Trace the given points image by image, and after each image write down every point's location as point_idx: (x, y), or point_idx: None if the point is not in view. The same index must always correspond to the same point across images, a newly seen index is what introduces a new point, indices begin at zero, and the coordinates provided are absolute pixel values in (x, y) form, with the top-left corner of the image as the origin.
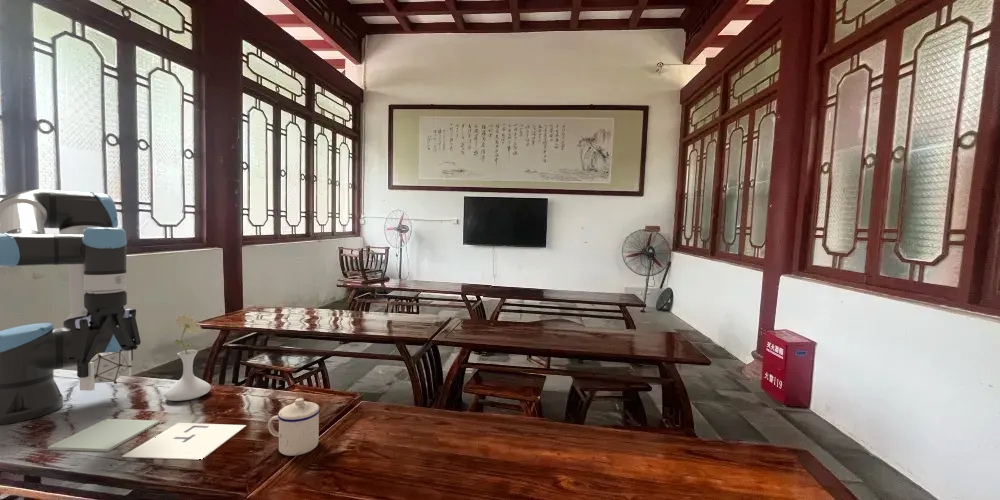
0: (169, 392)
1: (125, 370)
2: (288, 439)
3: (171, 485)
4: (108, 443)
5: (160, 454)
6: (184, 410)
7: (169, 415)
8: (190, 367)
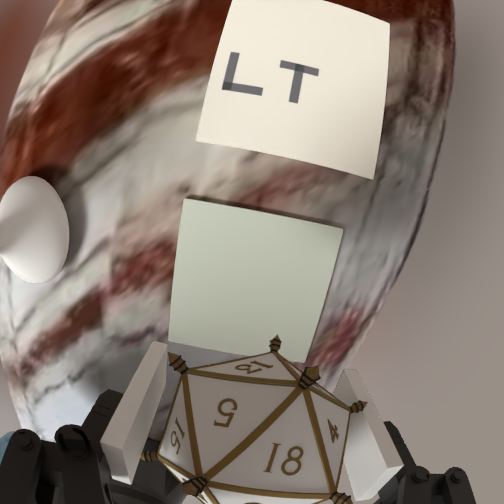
0: (51, 261)
1: (158, 376)
2: None
3: (453, 55)
4: (313, 248)
5: (373, 98)
6: (110, 180)
7: (138, 201)
8: None
